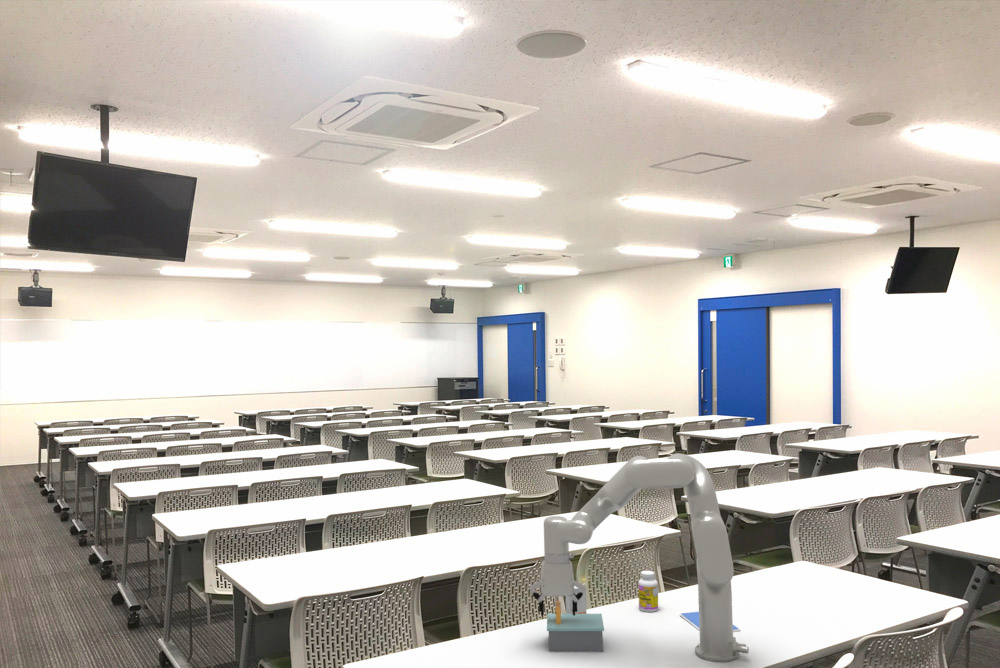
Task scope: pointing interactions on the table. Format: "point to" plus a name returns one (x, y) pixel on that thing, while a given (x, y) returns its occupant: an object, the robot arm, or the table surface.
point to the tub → (575, 641)
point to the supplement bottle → (648, 592)
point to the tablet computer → (694, 620)
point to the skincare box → (580, 604)
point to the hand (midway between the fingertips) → (558, 614)
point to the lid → (573, 621)
